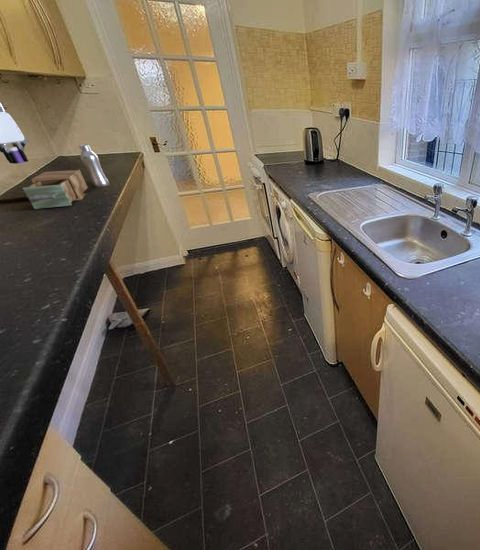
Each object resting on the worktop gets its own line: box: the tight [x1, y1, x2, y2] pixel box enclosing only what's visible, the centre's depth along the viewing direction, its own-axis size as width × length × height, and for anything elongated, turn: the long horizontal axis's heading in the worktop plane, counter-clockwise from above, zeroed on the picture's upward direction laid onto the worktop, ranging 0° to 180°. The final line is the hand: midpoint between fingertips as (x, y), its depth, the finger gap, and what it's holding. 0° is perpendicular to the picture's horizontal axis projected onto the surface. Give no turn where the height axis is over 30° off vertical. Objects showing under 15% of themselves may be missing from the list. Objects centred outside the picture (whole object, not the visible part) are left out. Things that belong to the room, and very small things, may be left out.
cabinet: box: [30, 169, 89, 201], centre depth 132 cm, size 15×13×10 cm
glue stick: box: [8, 146, 25, 164], centre depth 114 cm, size 3×3×6 cm
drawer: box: [22, 179, 77, 210], centre depth 121 cm, size 18×11×8 cm, turn 27°
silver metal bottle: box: [78, 144, 110, 188], centre depth 142 cm, size 6×7×20 cm
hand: (19, 161), depth 116 cm, fingers closed on glue stick, 2 cm apart
